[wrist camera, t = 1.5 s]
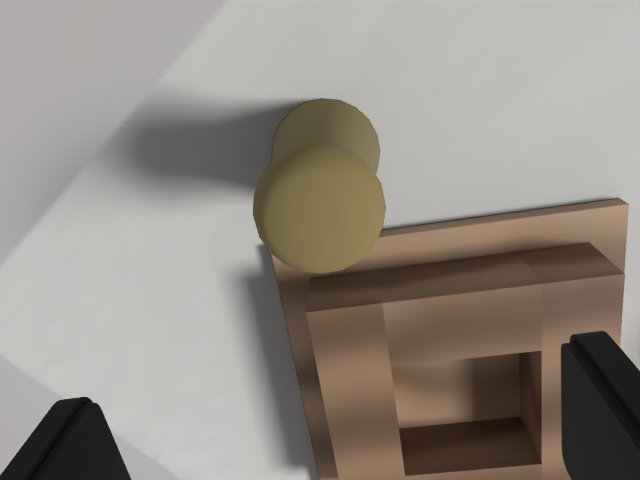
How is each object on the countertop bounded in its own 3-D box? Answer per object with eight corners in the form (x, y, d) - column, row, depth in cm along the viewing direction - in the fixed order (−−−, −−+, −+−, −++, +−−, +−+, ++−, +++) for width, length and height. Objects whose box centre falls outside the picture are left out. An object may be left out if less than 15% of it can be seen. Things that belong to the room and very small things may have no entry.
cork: (378, 95, 28) (400, 137, 18) (381, 202, 30) (400, 294, 20) (266, 101, 28) (224, 146, 18) (277, 207, 31) (245, 300, 20)
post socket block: (272, 244, 31) (261, 283, 27) (619, 198, 30) (670, 231, 25) (324, 489, 39) (322, 552, 34) (603, 465, 37) (641, 528, 32)
